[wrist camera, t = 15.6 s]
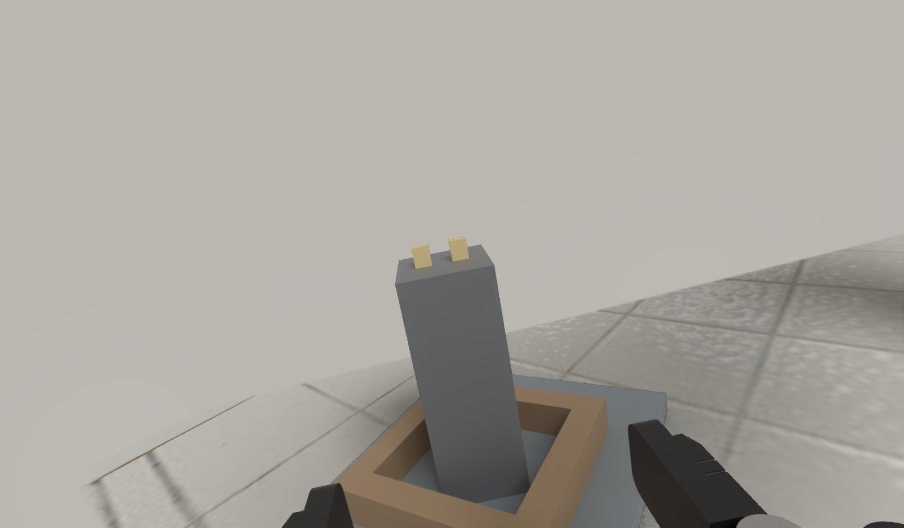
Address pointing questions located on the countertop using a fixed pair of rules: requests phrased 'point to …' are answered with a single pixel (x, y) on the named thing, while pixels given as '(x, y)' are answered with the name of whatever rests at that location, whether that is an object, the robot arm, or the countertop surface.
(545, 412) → the holder
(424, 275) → the connector
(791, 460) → the countertop surface
